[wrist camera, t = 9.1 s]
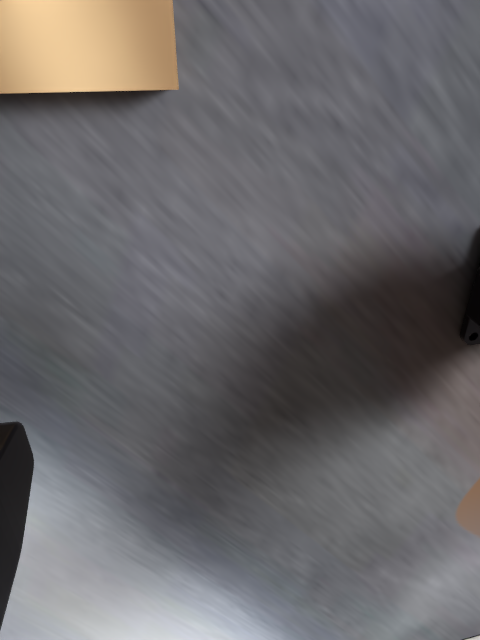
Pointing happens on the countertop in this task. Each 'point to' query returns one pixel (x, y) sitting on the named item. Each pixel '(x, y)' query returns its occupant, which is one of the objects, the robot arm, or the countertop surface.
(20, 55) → the wooden board
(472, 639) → the milk
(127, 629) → the countertop surface
